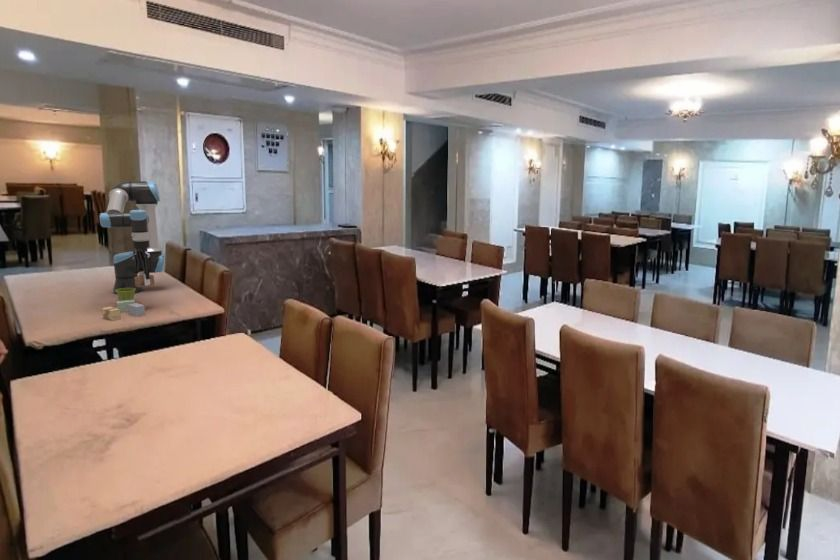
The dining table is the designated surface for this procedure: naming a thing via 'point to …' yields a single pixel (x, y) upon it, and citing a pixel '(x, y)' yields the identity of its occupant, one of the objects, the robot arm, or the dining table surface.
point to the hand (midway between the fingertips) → (145, 284)
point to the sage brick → (124, 305)
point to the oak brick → (111, 313)
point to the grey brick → (136, 309)
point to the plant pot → (125, 294)
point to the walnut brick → (140, 281)
